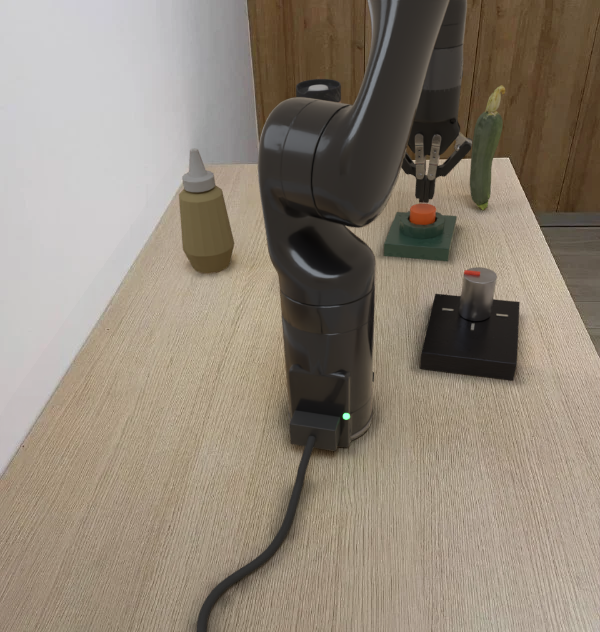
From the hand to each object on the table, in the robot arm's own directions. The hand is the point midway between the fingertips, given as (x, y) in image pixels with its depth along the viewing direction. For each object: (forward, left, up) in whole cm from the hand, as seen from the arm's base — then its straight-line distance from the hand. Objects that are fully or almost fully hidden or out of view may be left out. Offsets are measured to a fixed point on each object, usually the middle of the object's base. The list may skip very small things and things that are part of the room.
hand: (424, 200), depth 99 cm
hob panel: (-27, -10, -7) cm, 30 cm away
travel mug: (+13, +20, -7) cm, 25 cm away
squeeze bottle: (-14, +31, -7) cm, 35 cm away
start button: (0, 0, -3) cm, 3 cm away
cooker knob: (-24, -10, -4) cm, 26 cm away
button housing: (0, 0, -7) cm, 7 cm away
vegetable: (+15, -8, -7) cm, 18 cm away
